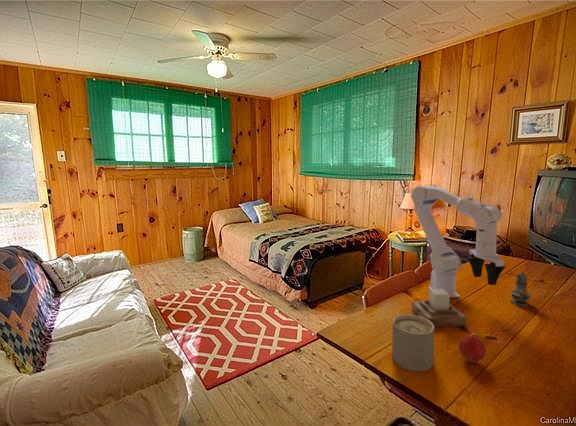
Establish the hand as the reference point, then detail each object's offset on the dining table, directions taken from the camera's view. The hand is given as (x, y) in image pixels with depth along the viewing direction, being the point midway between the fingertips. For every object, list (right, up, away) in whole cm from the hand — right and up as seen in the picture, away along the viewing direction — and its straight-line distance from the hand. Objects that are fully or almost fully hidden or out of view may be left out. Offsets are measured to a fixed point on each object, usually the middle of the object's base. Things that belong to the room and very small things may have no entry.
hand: (484, 280), depth 102 cm
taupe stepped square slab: (-18, -12, -3) cm, 21 cm away
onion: (-21, -15, -26) cm, 36 cm away
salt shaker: (+16, -10, +5) cm, 19 cm away
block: (-18, -9, -4) cm, 20 cm away
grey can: (-34, -15, -23) cm, 43 cm away
